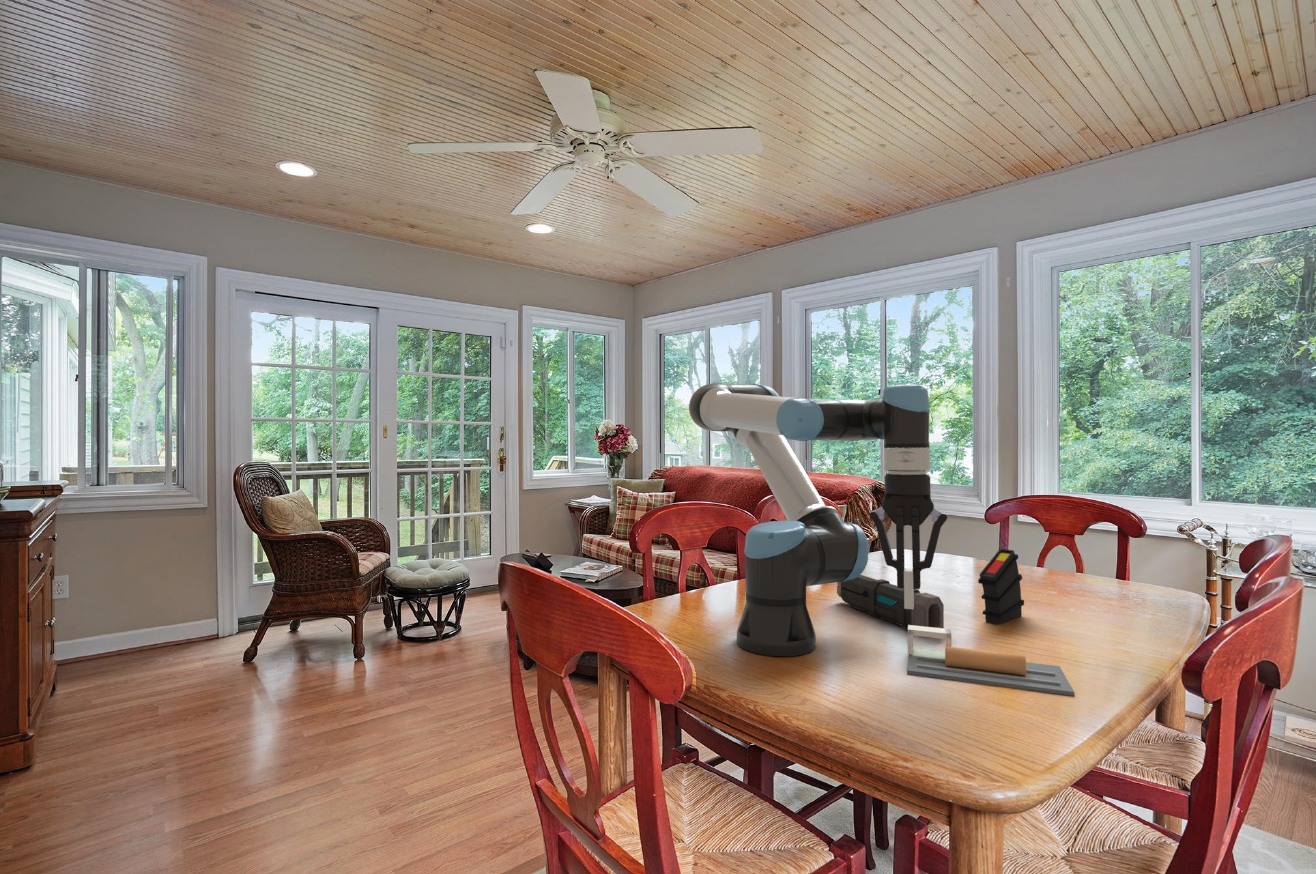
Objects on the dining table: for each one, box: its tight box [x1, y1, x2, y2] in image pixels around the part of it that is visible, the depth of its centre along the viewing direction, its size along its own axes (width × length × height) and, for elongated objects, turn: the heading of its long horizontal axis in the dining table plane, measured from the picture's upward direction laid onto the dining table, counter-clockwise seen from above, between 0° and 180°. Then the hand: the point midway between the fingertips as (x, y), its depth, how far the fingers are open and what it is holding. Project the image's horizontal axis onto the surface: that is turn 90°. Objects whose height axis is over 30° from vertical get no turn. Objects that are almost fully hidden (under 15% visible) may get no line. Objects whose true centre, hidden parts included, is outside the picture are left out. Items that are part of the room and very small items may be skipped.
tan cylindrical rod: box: [944, 645, 1027, 676], centre depth 107 cm, size 12×3×3 cm, turn 67°
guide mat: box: [906, 648, 1075, 697], centre depth 107 cm, size 24×12×1 cm, turn 67°
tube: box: [836, 574, 945, 631], centre depth 140 cm, size 11×7×30 cm
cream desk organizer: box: [907, 625, 953, 655], centre depth 114 cm, size 3×7×4 cm, turn 67°
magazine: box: [977, 548, 1025, 625], centre depth 138 cm, size 4×13×15 cm, turn 127°
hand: (909, 607), depth 111 cm, fingers closed
